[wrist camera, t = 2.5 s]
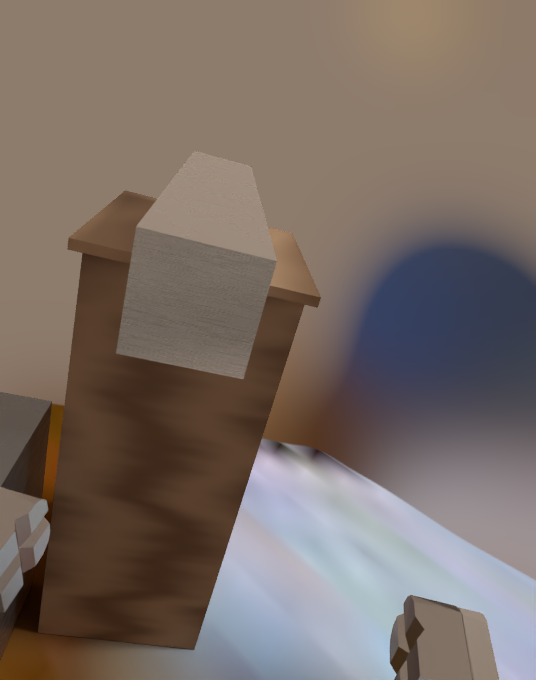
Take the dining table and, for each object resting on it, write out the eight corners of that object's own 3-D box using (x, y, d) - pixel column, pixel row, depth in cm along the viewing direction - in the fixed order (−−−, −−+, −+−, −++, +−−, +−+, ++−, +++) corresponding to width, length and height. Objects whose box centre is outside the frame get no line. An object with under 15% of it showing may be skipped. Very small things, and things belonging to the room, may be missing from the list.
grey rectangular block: (237, 222, 32) (251, 166, 31) (243, 379, 14) (276, 261, 13) (183, 208, 31) (194, 150, 30) (115, 353, 13) (136, 226, 12)
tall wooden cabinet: (209, 520, 44) (292, 233, 33) (201, 657, 33) (320, 297, 22) (79, 500, 42) (125, 190, 31) (26, 639, 31) (68, 237, 21)
